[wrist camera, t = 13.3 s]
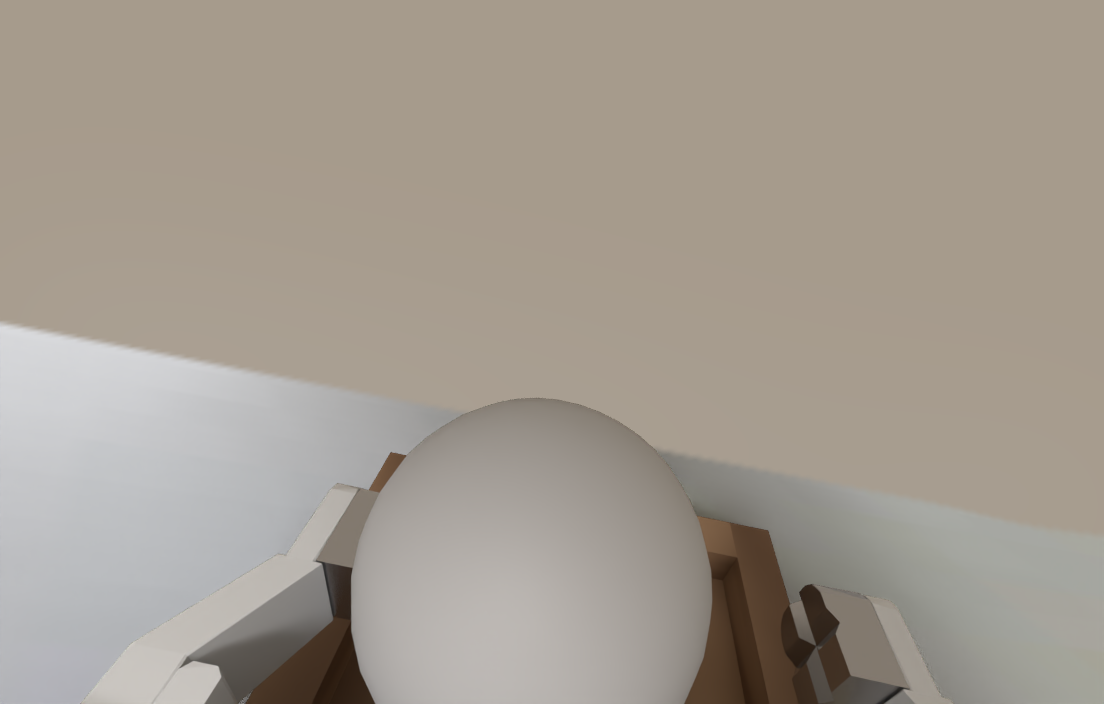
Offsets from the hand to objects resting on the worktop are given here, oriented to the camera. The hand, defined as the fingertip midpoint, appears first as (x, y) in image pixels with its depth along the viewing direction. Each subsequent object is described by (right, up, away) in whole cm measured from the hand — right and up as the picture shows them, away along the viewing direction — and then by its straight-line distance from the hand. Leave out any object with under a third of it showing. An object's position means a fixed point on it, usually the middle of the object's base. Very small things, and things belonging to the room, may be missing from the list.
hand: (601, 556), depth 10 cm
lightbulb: (-3, -6, +3) cm, 8 cm away
